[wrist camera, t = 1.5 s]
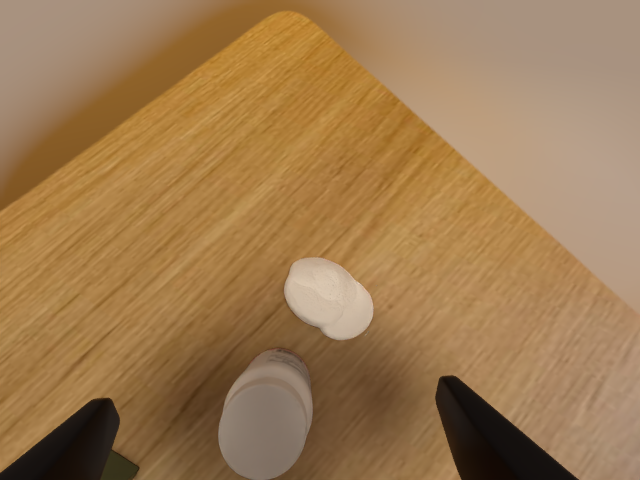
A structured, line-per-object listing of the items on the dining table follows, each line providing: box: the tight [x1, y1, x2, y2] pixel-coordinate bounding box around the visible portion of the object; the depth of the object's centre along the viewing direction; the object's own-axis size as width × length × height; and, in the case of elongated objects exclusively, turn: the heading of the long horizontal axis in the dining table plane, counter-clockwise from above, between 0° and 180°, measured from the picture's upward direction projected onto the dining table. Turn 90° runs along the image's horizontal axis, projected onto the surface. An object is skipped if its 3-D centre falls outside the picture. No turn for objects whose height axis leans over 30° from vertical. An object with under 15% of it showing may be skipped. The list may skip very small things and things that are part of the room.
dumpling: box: [284, 257, 377, 340], centre depth 22 cm, size 7×5×4 cm
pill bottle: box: [218, 348, 313, 480], centre depth 18 cm, size 5×5×8 cm
